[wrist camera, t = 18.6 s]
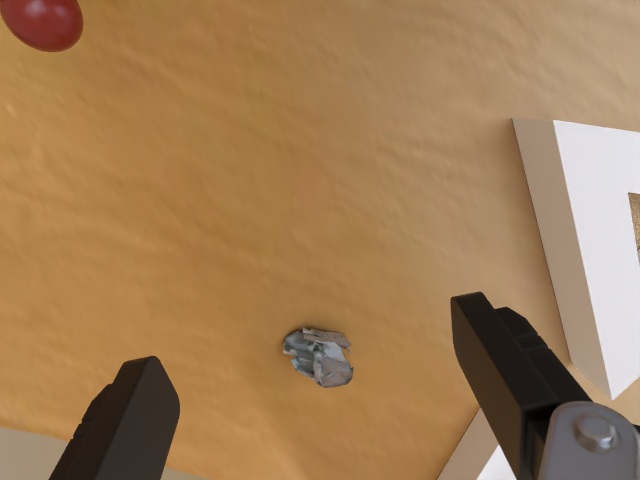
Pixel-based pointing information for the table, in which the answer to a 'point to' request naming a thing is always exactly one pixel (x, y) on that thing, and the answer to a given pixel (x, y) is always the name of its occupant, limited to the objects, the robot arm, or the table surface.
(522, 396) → the robot arm
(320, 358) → the crumpled paper
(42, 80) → the table surface
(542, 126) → the triangle block
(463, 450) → the file organizer
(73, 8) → the lever
